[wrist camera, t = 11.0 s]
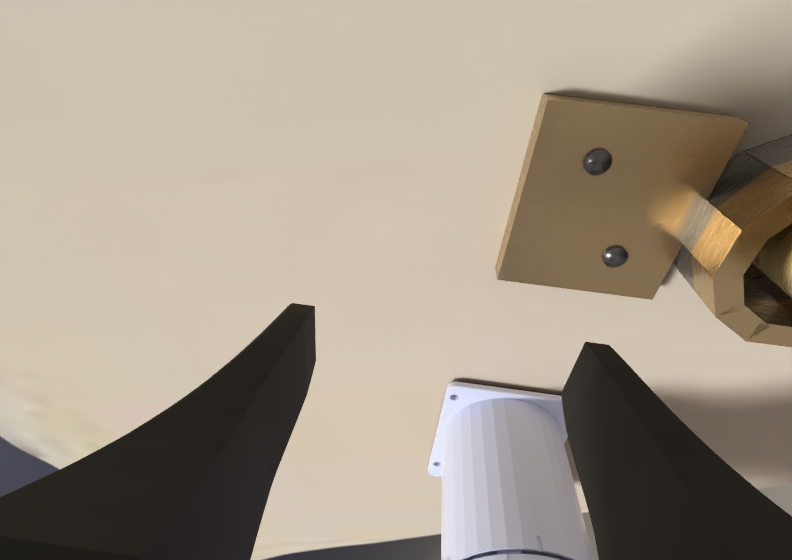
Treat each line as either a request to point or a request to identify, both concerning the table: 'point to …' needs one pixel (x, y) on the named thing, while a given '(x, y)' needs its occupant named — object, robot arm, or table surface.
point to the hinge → (651, 208)
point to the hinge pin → (777, 259)
